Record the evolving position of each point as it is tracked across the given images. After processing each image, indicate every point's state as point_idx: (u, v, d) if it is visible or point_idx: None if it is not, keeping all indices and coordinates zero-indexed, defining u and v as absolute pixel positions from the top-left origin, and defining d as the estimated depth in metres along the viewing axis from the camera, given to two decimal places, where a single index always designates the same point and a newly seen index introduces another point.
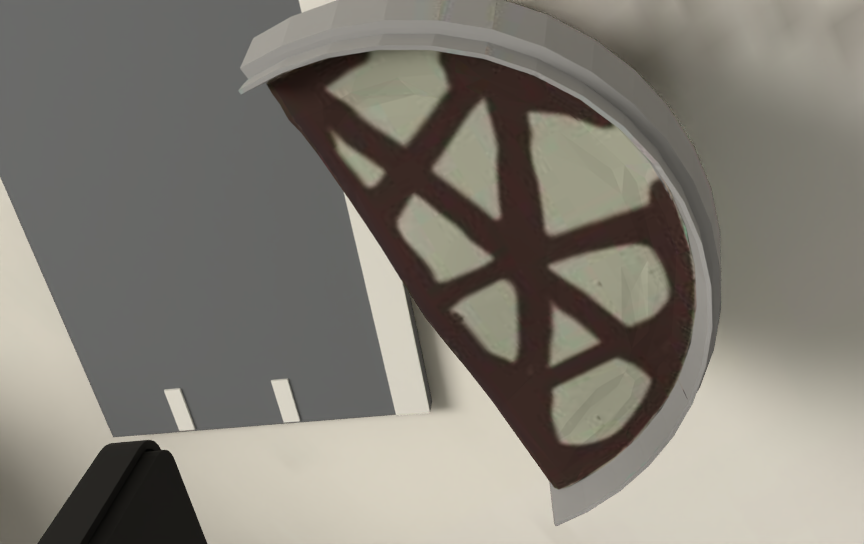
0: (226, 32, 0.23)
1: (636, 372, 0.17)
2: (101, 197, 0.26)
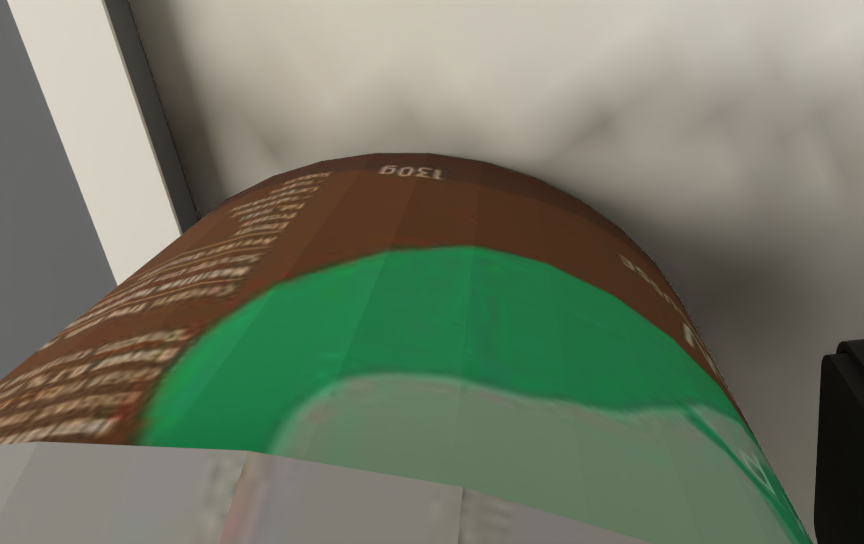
0: None
1: None
2: None
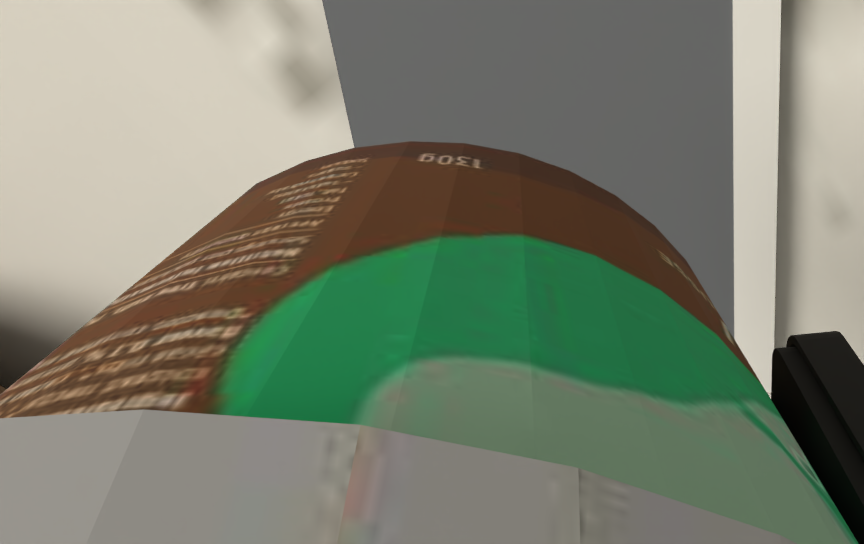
0: None
1: None
2: None
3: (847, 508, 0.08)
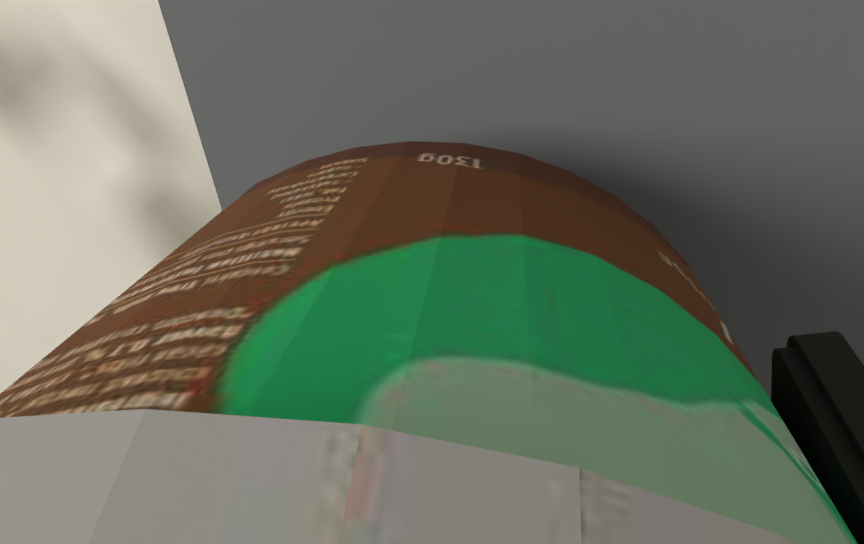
0: (744, 75, 0.12)
1: None
2: None
3: (847, 508, 0.08)
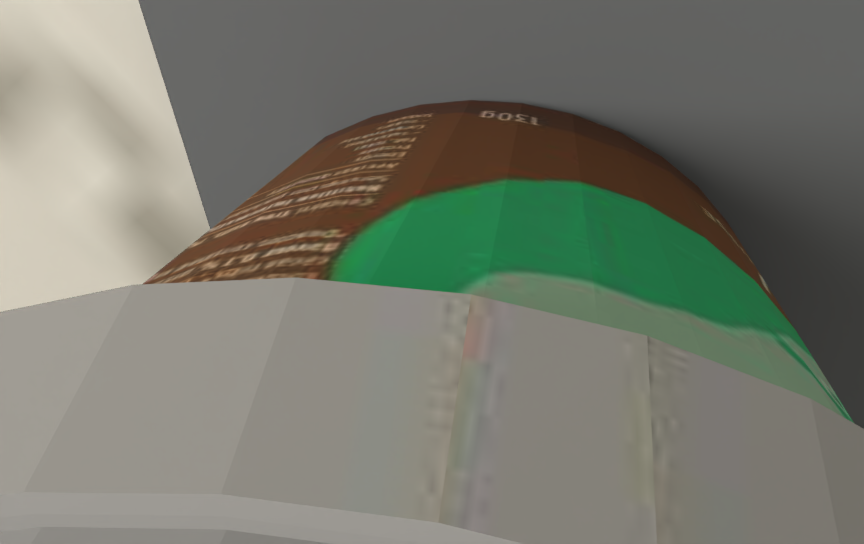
0: (744, 85, 0.12)
1: None
2: None
3: None
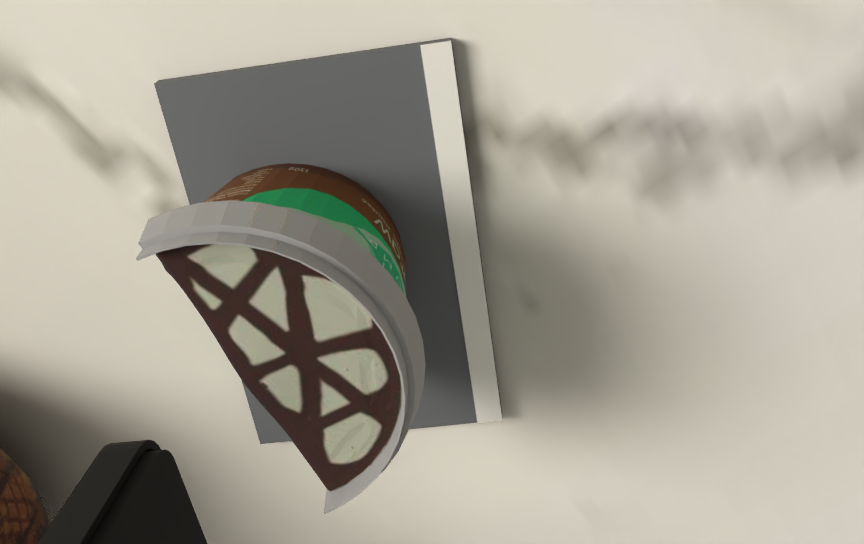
0: (382, 160, 0.34)
1: (372, 421, 0.28)
2: None
3: None
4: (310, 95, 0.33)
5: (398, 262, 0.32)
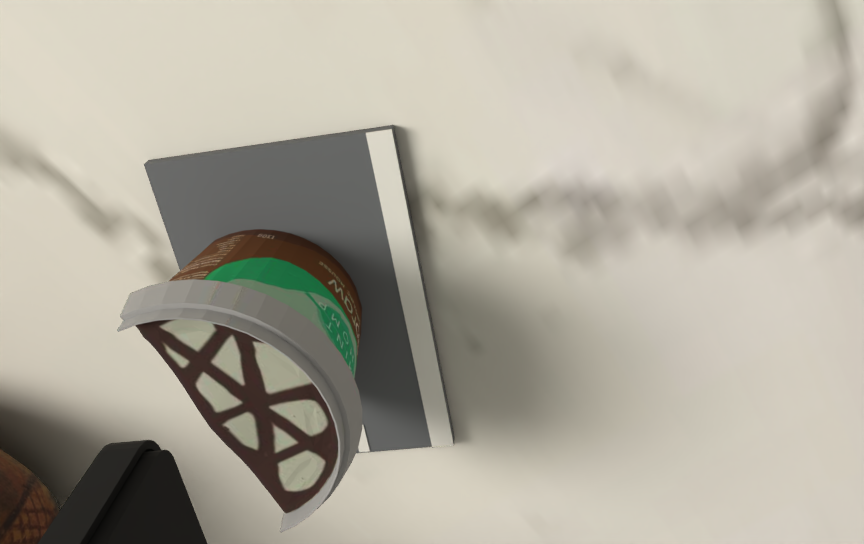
0: (338, 227, 0.39)
1: (317, 457, 0.34)
2: None
3: None
4: (275, 173, 0.38)
5: (349, 317, 0.38)
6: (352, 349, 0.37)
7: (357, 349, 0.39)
